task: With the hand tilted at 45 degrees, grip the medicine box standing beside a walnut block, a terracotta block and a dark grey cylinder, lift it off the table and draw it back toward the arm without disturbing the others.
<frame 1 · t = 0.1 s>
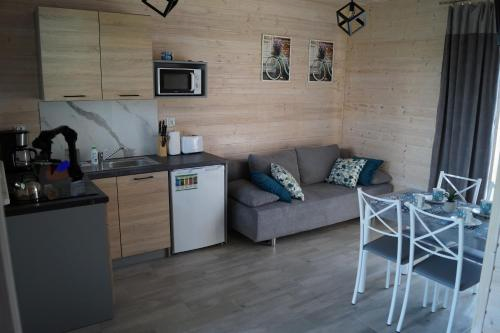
hand: (44, 174, 258), 15 cm above the countertop, tool pointing down, fingers open, 9 cm apart
walnut block: (53, 198, 262), on the countertop
medicine box: (78, 194, 271), on the countertop
dark grey cylinder: (50, 196, 267), on the countertop
candy bar box: (73, 167, 360), on the countertop
house: (60, 177, 323), on the countertop
terracotta block: (49, 194, 272), on the countertop
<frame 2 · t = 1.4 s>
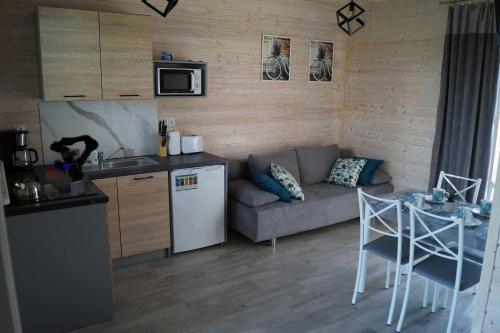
hand: (72, 172, 274), 13 cm above the countertop, tool tilted 45°, fingers open, 9 cm apart
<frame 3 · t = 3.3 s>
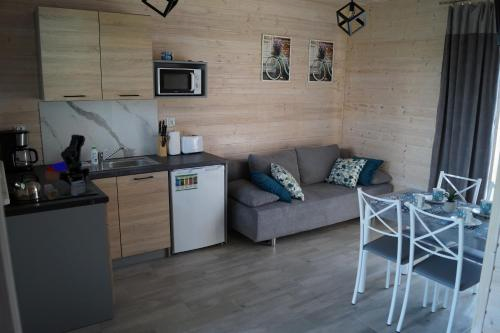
hand: (78, 184, 269), 7 cm above the countertop, tool tilted 45°, fingers open, 9 cm apart
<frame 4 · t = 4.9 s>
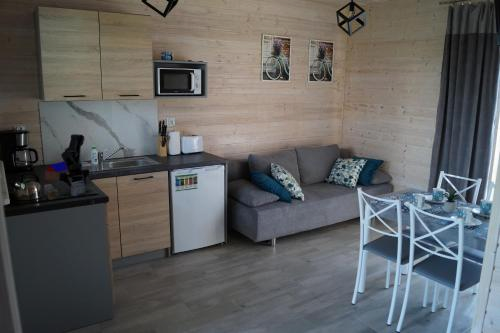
hand: (78, 185, 269), 7 cm above the countertop, tool tilted 45°, fingers closed on medicine box, 9 cm apart
medicine box: (78, 194, 271), on the countertop, touching gripper
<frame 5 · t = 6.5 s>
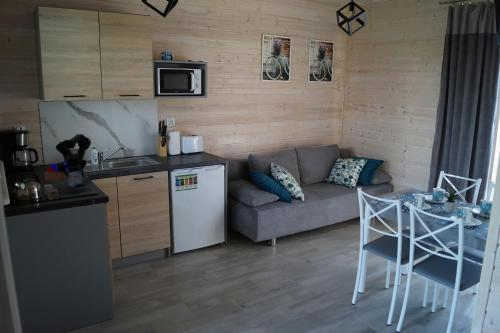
hand: (75, 175, 271), 12 cm above the countertop, tool tilted 45°, fingers closed on medicine box, 9 cm apart
medicine box: (75, 185, 274), point 5 cm above the countertop, touching gripper
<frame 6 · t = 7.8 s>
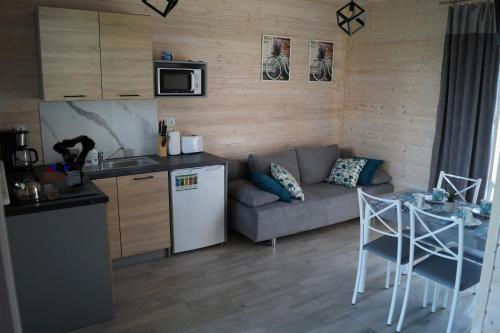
hand: (73, 174, 273), 12 cm above the countertop, tool tilted 45°, fingers closed on medicine box, 9 cm apart
medicine box: (74, 184, 275), point 6 cm above the countertop, touching gripper
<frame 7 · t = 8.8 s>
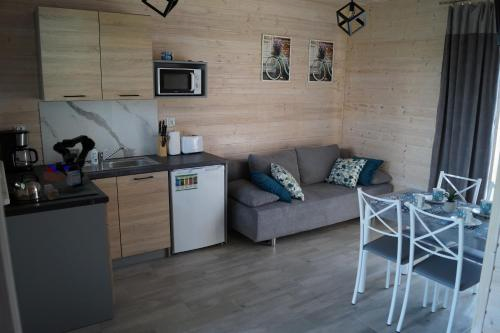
hand: (73, 174, 273), 12 cm above the countertop, tool tilted 45°, fingers closed on medicine box, 9 cm apart
medicine box: (74, 184, 275), point 6 cm above the countertop, touching gripper
at the end: the gripper is holding medicine box; medicine box point 5.5 cm above the countertop; walnut block moved 0.1 cm from its start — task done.
